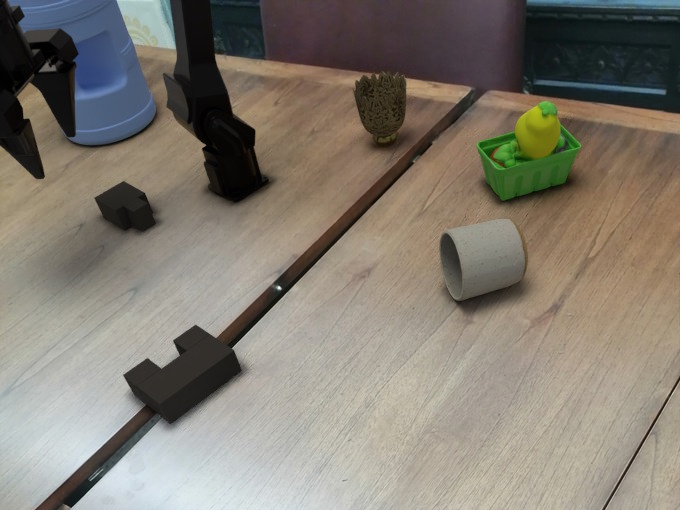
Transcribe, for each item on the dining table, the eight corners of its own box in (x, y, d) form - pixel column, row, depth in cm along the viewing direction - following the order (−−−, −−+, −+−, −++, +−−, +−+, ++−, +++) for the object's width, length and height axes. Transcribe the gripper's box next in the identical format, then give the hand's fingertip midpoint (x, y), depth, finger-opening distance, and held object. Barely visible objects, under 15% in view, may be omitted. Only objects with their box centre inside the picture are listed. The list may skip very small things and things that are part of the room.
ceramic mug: (530, 293, 78) (534, 232, 72) (463, 315, 77) (461, 254, 71) (492, 245, 84) (492, 184, 78) (429, 264, 84) (424, 204, 77)
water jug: (86, 102, 120) (-6, -108, 97) (170, 97, 117) (96, -120, 94) (49, 149, 111) (-61, -68, 89) (139, 146, 109) (49, -80, 86)
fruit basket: (552, 157, 94) (560, 66, 84) (583, 189, 89) (595, 96, 79) (474, 180, 93) (473, 91, 83) (501, 214, 88) (503, 123, 78)
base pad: (204, 344, 80) (195, 323, 77) (242, 370, 76) (234, 349, 74) (133, 394, 76) (122, 374, 74) (170, 424, 73) (159, 404, 70)
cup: (405, 155, 98) (400, 95, 92) (355, 155, 100) (347, 96, 93) (415, 128, 102) (410, 69, 96) (366, 128, 104) (359, 70, 97)
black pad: (132, 200, 100) (123, 180, 97) (163, 218, 96) (155, 198, 93) (103, 217, 98) (93, 197, 95) (134, 236, 94) (125, 216, 92)
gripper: (-46, -24, 77) (30, 120, 90) (-140, 53, 67) (-40, 203, 79) (44, -33, 75) (108, 116, 88) (-39, 45, 65) (47, 201, 77)
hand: (56, 157), depth 83 cm, fingers open, 9 cm apart
